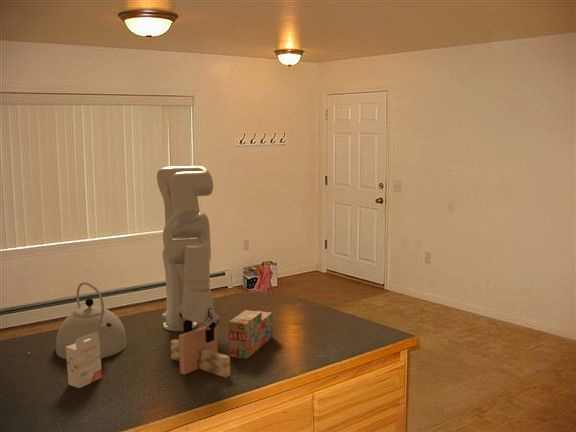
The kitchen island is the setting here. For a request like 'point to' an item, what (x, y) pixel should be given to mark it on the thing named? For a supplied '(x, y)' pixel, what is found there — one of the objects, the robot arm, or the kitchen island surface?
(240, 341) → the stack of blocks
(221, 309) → the kitchen island surface
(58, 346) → the kettle
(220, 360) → the oak notched board
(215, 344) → the terracotta slotted plate
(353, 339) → the kitchen island surface
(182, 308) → the robot arm
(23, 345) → the kitchen island surface
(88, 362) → the ink cartridge box
